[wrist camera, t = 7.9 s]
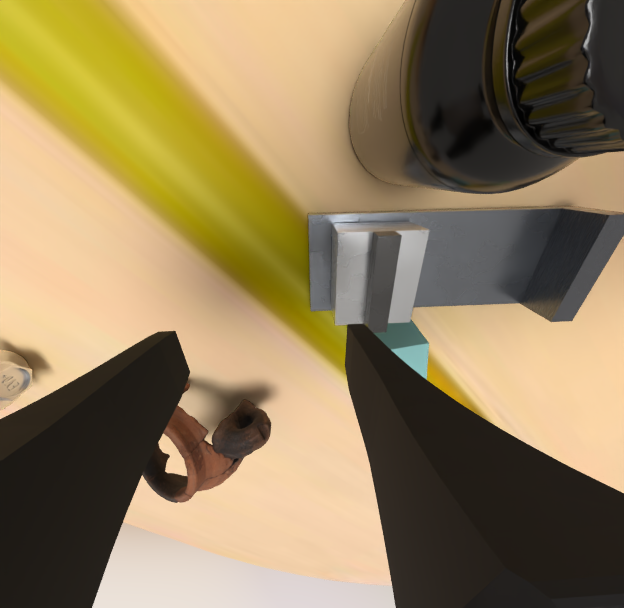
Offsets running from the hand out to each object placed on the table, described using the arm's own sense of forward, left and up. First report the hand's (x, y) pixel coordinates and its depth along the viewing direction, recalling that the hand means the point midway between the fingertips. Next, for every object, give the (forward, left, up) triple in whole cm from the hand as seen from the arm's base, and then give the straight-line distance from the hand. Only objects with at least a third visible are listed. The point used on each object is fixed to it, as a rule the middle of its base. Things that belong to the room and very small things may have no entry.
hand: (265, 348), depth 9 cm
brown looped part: (+5, +16, -10) cm, 20 cm away
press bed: (-11, 0, -9) cm, 14 cm away
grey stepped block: (-6, 0, -9) cm, 11 cm away
